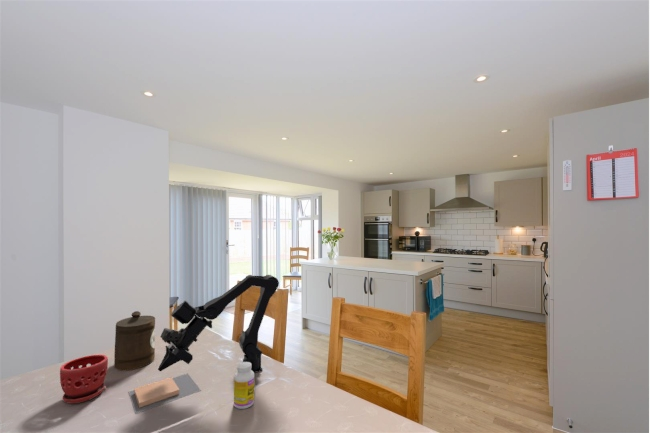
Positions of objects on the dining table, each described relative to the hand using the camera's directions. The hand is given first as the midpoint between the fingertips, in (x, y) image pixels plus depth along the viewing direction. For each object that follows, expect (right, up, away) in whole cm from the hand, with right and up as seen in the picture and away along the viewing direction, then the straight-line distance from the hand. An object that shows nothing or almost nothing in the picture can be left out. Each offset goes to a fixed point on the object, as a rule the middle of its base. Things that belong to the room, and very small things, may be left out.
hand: (159, 370), depth 105 cm
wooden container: (-24, -9, +24) cm, 36 cm away
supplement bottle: (+32, -9, -5) cm, 33 cm away
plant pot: (-26, -9, 0) cm, 28 cm away
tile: (+4, -7, +3) cm, 9 cm away
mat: (+1, -9, +1) cm, 9 cm away
